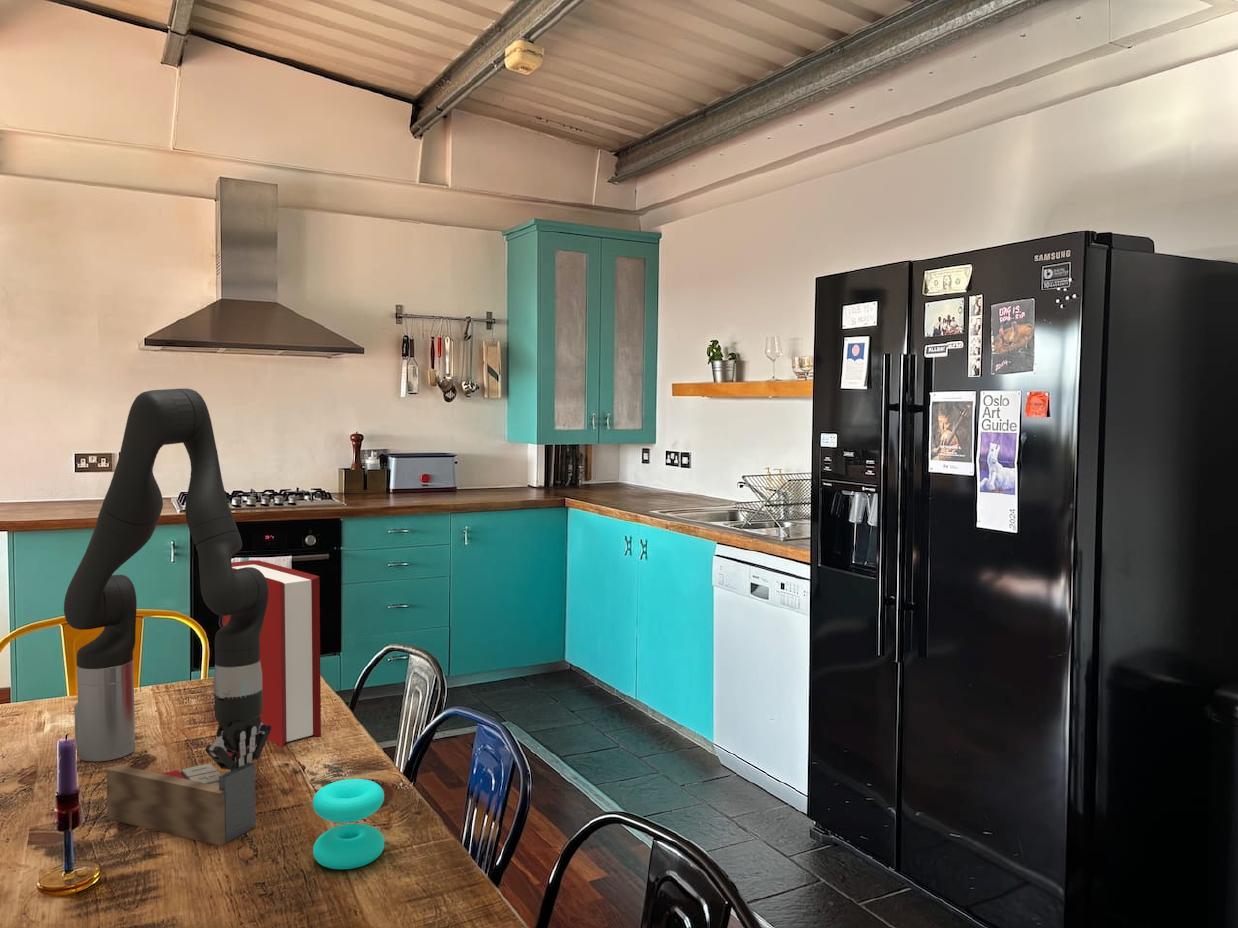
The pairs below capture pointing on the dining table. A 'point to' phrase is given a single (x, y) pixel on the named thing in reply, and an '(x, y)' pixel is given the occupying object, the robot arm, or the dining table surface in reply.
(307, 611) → the book
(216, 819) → the mottled stone block
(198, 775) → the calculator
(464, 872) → the dining table surface
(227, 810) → the bookend
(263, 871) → the dining table surface
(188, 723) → the dining table surface
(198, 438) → the robot arm
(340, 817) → the donuts
